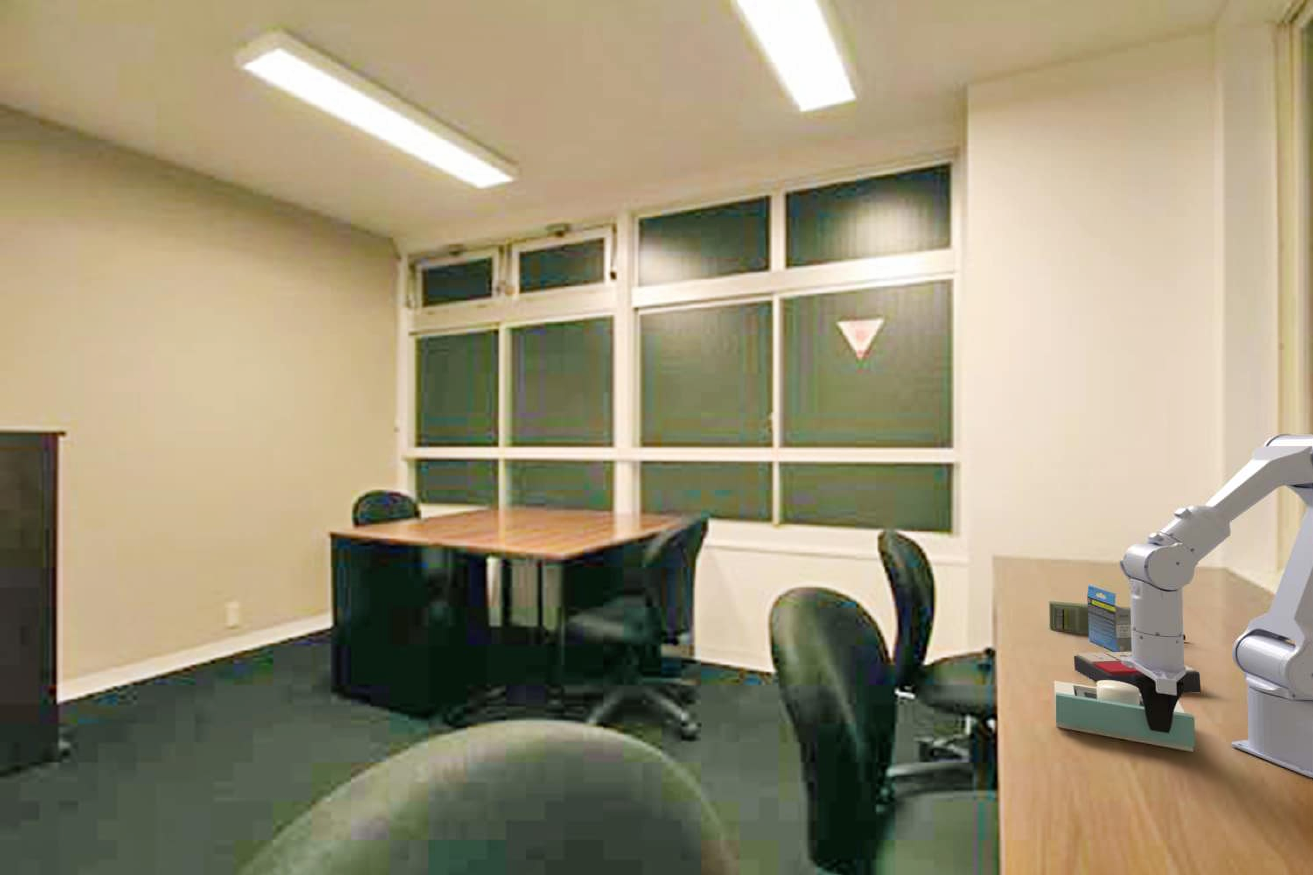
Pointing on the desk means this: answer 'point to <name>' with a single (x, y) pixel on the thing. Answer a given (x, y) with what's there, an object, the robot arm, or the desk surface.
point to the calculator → (1122, 669)
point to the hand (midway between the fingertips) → (1158, 730)
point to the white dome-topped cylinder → (1117, 692)
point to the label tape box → (1108, 621)
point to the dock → (1071, 690)
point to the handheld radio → (1071, 617)
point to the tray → (1120, 718)
